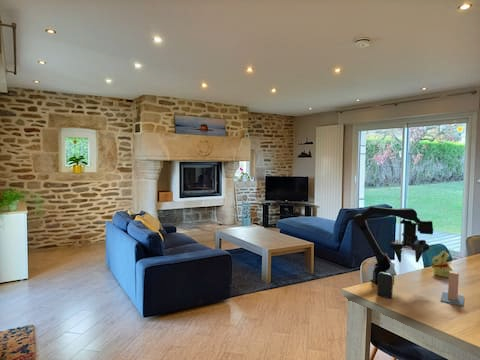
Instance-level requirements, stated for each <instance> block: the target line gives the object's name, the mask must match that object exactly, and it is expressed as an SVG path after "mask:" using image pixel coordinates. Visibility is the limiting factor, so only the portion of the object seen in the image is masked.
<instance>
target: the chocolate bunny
mask: <svg viewBox="0 0 480 360" xmlns="http://www.w3.org/2000/svg"><path fill="white" fill-rule="evenodd" d="M450 256H451V255H450V254H449V253H447V251H446V250H442V251H441V252H440V253H438V255H436V256H434V257H433V258H432V260H431V262H432V264H433V265H431V268H433V271H434V272H433V274H434V276H438V277H443V278H448V279H449V272H450V271H453V269H452V267H451V266H450V265H449V264H448V262H447V260H448V259H449V258H450Z"/></svg>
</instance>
